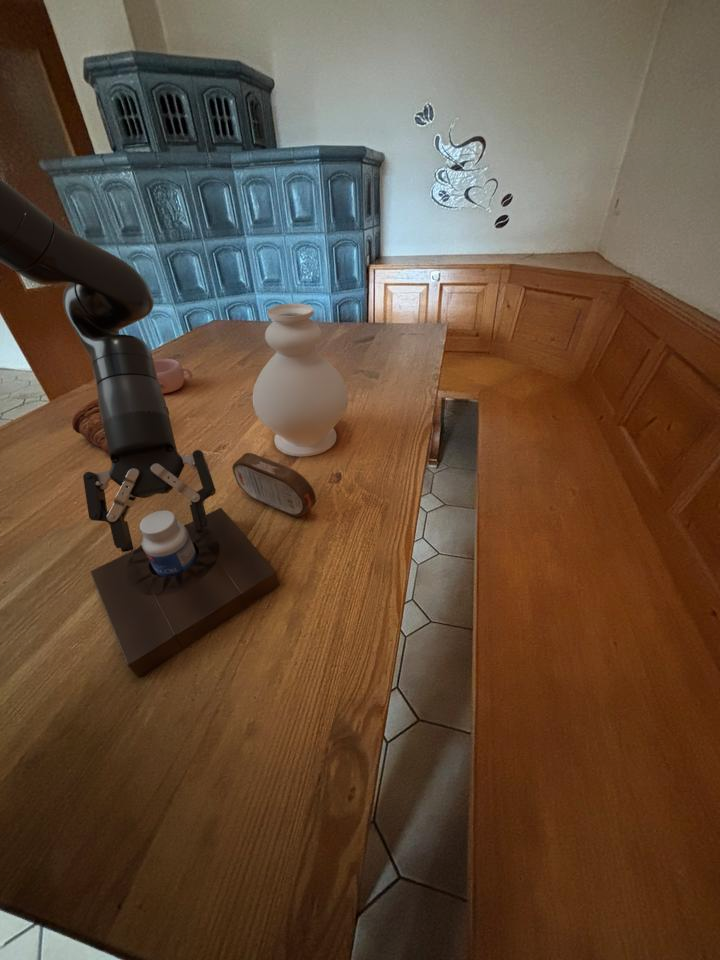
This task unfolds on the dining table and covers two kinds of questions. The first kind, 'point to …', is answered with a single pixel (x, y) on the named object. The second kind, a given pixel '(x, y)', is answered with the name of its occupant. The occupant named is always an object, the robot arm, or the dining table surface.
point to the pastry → (91, 425)
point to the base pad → (182, 592)
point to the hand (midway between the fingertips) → (165, 541)
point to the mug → (170, 374)
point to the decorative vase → (298, 385)
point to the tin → (274, 484)
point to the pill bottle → (167, 544)
